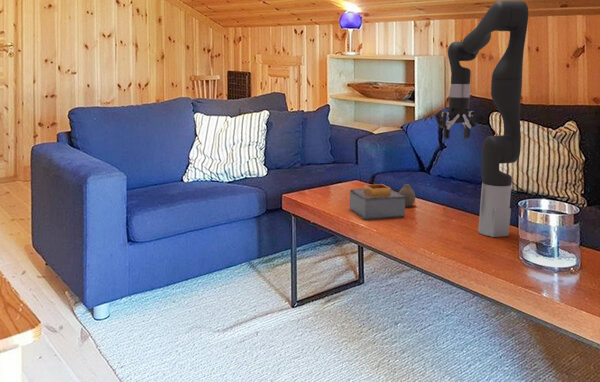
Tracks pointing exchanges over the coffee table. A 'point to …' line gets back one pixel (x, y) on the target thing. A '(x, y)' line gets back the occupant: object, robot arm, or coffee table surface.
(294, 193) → the coffee table surface
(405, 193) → the vase
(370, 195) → the grey box with opening
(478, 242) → the coffee table surface
